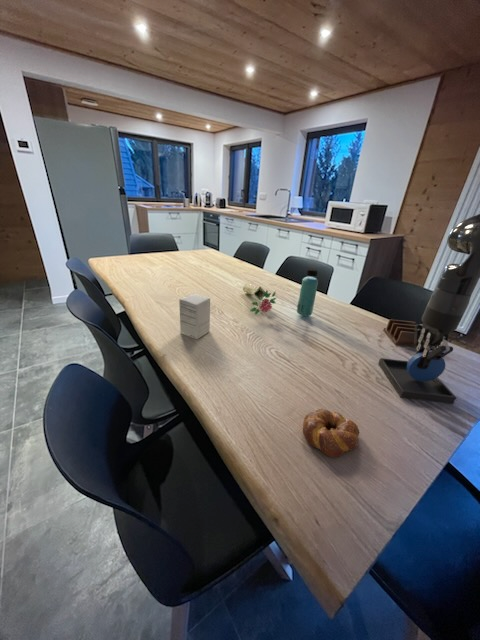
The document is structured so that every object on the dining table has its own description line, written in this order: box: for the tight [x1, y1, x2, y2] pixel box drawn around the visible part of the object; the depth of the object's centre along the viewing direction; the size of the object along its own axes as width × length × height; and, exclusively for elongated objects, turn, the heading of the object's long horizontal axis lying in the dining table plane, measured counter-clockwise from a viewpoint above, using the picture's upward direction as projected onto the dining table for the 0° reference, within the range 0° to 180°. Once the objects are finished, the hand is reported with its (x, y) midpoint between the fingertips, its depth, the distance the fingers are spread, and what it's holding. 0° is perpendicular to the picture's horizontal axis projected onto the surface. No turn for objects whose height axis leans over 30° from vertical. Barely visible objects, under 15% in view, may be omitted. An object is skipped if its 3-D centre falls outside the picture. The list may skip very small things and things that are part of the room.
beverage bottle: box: [296, 268, 319, 317], centre depth 106 cm, size 6×7×20 cm
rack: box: [383, 318, 421, 348], centre depth 97 cm, size 11×11×5 cm
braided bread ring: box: [302, 408, 361, 458], centre depth 55 cm, size 12×11×4 cm
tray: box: [378, 357, 457, 405], centre depth 74 cm, size 13×15×2 cm
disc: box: [407, 350, 446, 382], centre depth 72 cm, size 9×2×9 cm, turn 84°
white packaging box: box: [178, 292, 211, 340], centre depth 88 cm, size 7×7×13 cm
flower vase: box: [242, 283, 277, 315], centre depth 113 cm, size 12×12×35 cm
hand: (419, 365), depth 72 cm, fingers closed on disc, 1 cm apart
